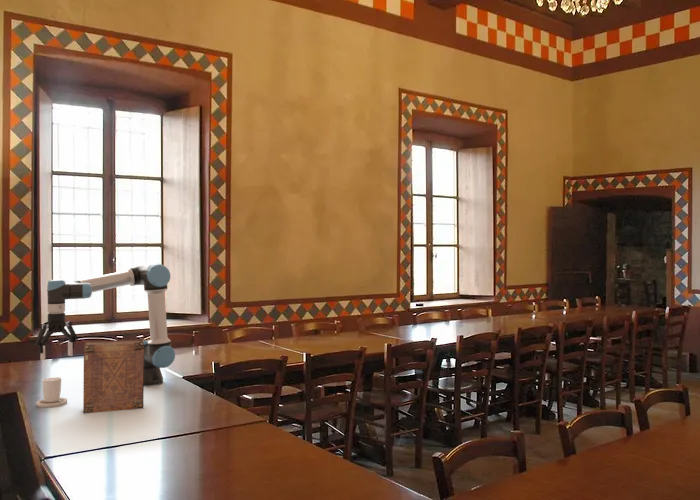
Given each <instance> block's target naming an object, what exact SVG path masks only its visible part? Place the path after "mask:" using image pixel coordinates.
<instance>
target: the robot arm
mask: <svg viewBox="0 0 700 500" xmlns="http://www.w3.org/2000/svg"><path fill="white" fill-rule="evenodd" d="M170 280H171V272H170V269H169V268H168V267H167V266H166V265H164V264H160V263H156V262H155V263H148V262H147V263H142V264H139V265H135V266H132V267H129V268H128V267H127V268H126V270H122V271H117V272H113V273H107V274H102V275H98V276H97V275H95V276H92V277H87V278H83V279H82V278H81V279H77V280H73V281H65V280H64V279H50V280H48V281H47V286H46V287H47V289H46V292H47V293H46V294H47V313H48V314H47V324H43V323H42V324H41V326H40V330H39V332H38V335H37V336H36V339H35V341H34V345H35V346H38V353H39V354H40V356H39V357H40V361H46V342H47V341H48V340H49V339H50V337H51V336H52V335H53V334H56V333H62V335H64V337H65V338H66V339H67V340H68V342H67V356H68V357H73V353H74V352H73V349H75V342H76V341H78V340H79V338H78V335H77V333H76V332H75V330H74V328H73V323H72V321H66V313H65V312H66V300H81V299H83V300H85V299H90V298H91V297H92V295H93V293H96V292H101V291H105V290H109V289H110V290H111V289H114V288H118V287H119V288H120V287H123V286H131V287H134V286H143V290H144V291H145V293H146V294H147V305H148V320H149V321H148V322H149V335H150V337H149V338H150V339H149V340H143V342H144V387H149V386H156V385H160V384H163V383H164V377H163V373H162V370H161V369H165V368H168V367H169V366H171V365H172V364H173V362H174V361H175V358H176V352H175V349H174V348H173V346H172V341H171V339H170V338H169V336H168V325H167V309H166V307H167V306H166V292H167V290H168V283H170ZM65 327H66V328H65Z"/></svg>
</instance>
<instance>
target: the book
mask: <svg viewBox="0 0 700 500" xmlns="http://www.w3.org/2000/svg"><path fill="white" fill-rule="evenodd" d="M143 341H144V340H143V339H129V340H127V339H126V340H125V339H124V340H123V339H122V340H106V341H105V340H103V341H100V340H98V341H84V345H83V400H82V401H83V402H82V403H83V406H82V407H83V410H82V412H83V413H84V414H91V413H92V414H93V413H102V412H104V413H105V412H114V411H128V410H138V409H144V391H145V390H144V387H145V386H144V342H143Z"/></svg>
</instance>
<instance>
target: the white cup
mask: <svg viewBox="0 0 700 500" xmlns="http://www.w3.org/2000/svg"><path fill="white" fill-rule="evenodd" d="M61 388H62V377H55V376H54V377H47V378H43V379H42V395H43V399H44V402H55V401H59V400H60V398H61V390H62V389H61Z"/></svg>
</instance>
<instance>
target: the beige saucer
mask: <svg viewBox="0 0 700 500" xmlns="http://www.w3.org/2000/svg"><path fill="white" fill-rule="evenodd" d="M35 404H36V405H35V406H36V407H38V408H42V409H43V408H57V407H61V406H65V405H67V404H68V398H65V397H60V400H59V401H55V402H44V398H43V399H42V398H41V399H39V400H37V401H36V402H35Z"/></svg>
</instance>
